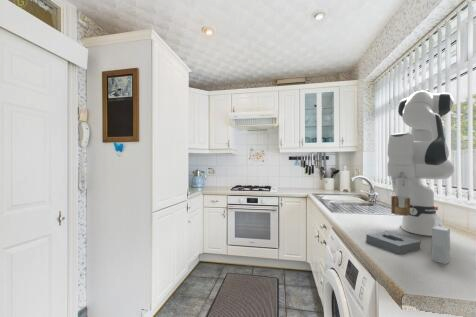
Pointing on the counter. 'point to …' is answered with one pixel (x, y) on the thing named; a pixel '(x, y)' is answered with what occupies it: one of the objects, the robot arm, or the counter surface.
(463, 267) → the counter surface
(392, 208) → the brown wooden block
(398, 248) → the slate socket block
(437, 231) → the skincare box
